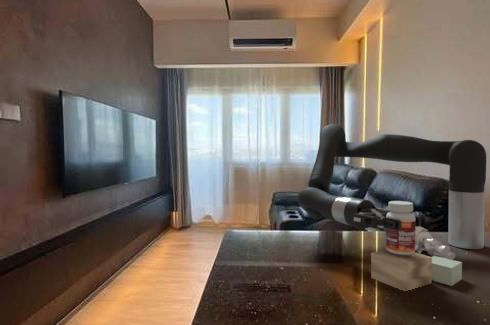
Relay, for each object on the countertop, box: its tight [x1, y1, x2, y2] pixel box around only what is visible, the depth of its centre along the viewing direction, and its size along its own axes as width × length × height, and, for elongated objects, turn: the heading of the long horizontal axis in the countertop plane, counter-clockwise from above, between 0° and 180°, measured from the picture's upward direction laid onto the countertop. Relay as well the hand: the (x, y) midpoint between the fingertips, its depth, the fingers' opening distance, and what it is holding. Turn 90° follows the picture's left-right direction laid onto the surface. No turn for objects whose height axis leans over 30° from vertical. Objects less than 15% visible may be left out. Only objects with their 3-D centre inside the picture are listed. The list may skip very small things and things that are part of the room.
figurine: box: [415, 226, 456, 260], centre depth 93 cm, size 11×7×15 cm
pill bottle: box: [385, 200, 416, 255], centre depth 74 cm, size 6×6×11 cm
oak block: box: [370, 248, 433, 292], centre depth 74 cm, size 9×9×6 cm
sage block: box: [431, 256, 463, 287], centre depth 75 cm, size 6×6×4 cm
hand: (410, 223), depth 72 cm, fingers open, 6 cm apart
